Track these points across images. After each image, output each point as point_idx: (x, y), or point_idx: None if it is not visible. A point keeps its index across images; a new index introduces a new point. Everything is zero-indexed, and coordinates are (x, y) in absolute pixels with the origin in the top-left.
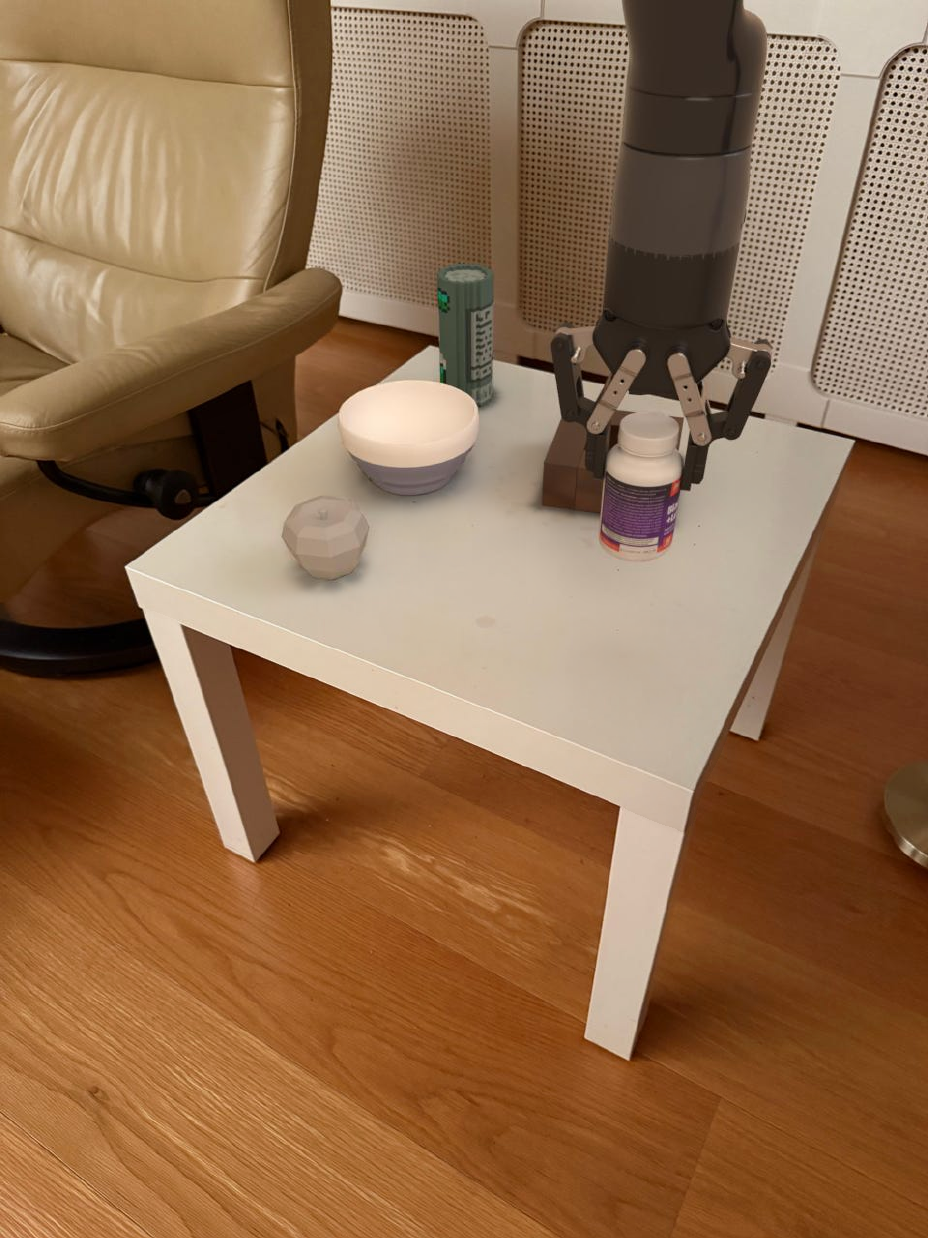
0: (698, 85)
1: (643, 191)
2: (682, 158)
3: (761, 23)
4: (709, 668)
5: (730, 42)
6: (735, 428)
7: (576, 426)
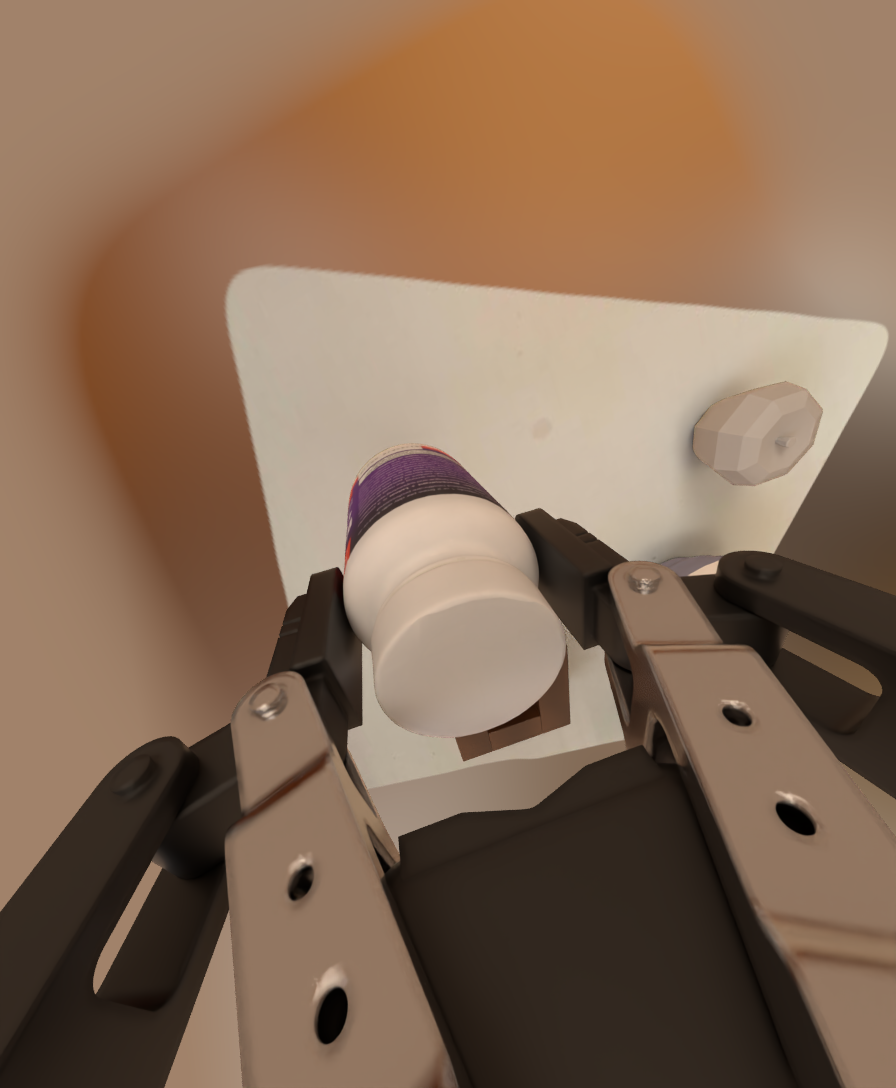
0: None
1: None
2: None
3: None
4: (296, 479)
5: None
6: (112, 802)
7: (552, 703)
